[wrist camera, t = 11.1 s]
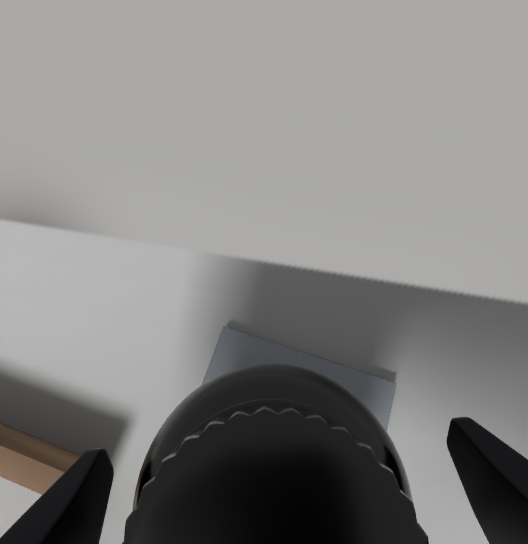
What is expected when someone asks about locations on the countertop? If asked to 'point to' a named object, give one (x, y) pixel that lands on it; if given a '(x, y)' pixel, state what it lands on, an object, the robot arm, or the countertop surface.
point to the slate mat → (252, 350)
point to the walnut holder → (31, 460)
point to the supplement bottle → (272, 467)
